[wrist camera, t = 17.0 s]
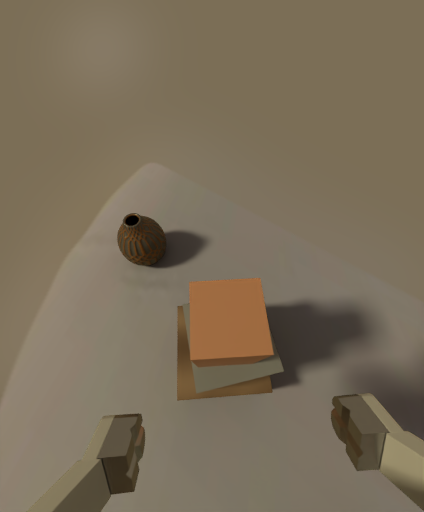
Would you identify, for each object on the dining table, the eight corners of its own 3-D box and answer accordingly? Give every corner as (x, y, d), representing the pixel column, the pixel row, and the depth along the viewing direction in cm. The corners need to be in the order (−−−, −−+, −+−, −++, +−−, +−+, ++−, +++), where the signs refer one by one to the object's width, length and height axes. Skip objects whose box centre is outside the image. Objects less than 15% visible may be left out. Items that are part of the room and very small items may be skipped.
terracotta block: (252, 363, 20) (273, 354, 13) (198, 367, 20) (190, 360, 13) (245, 309, 23) (260, 278, 16) (196, 312, 23) (189, 281, 16)
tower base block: (263, 390, 28) (272, 392, 24) (183, 397, 28) (177, 400, 23) (250, 311, 33) (256, 300, 28) (182, 316, 33) (177, 306, 28)
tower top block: (271, 373, 24) (284, 371, 20) (199, 391, 24) (196, 393, 19) (250, 303, 28) (256, 289, 24) (187, 316, 28) (182, 304, 23)
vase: (163, 231, 40) (150, 194, 32) (174, 263, 36) (164, 231, 29) (124, 243, 38) (101, 208, 31) (132, 277, 35) (109, 248, 28)
